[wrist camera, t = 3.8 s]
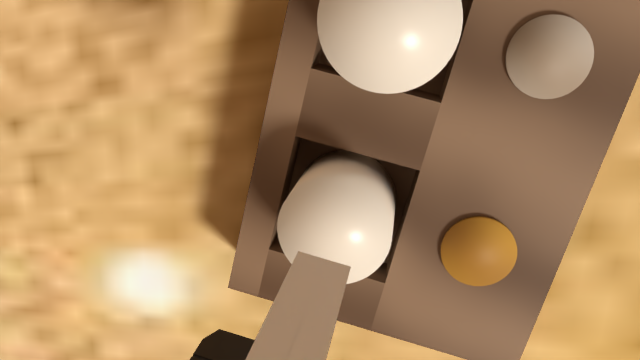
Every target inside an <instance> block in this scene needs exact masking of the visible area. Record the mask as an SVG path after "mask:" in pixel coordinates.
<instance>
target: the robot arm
mask: <svg viewBox="0 0 640 360" xmlns="http://www.w3.org/2000/svg"><path fill="white" fill-rule="evenodd" d="M350 268H351V267H350V266H347V265H344V264H340V263H337V262H333V261H330V260H327V259H323V258H320V257H317V256H313V255H310V254H306V253H303V252H300V251H298V252H297V255H296V257H295V259H294V261H293V263H292V265H291V267H290V269H289V271H288V273H287V275H286V277H285V279H284V281H283V283H282V285H281V287H280V290H279V292H278V294H277V296H276V298H275V300H274V302H273V304H272V306H271V308H270V310H269V312H268V314H267V316H266V318H265V320H264V323H263V325H262V327H261V329H260V331H259V333H258V335H257V337H256V339H255V340H252V339H249V338H246V337H243V336H240V335H236V334H233V333H230V332H227V331H223V330H220V329H219V330H217V331H216V332H214V333H212V334H211V335H209V336H207V337H206V338H204V339H203V340H202V341H201V343H200V344H199V346H198V348H197V349H196V351H195V352H194V354H193V357H191V359H190V360H326V358H327V354H328V350H329V347H330V343H331V339H332V335H333V332H334V328H335V324H336V320H337V317H338V313H339V309H340V306H341V302H342V298H343V294H344V291H345V287H346V283H347V279H348V276H349V272H350Z"/></svg>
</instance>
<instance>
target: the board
mask: <svg viewBox="0 0 640 360" xmlns="http://www.w3.org/2000/svg"><path fill="white" fill-rule="evenodd" d="M319 1H320V0H289V2H288V7H287V12H286V17H285V21H284V26H283V31H282V35H281V40H280V45H279V50H278V54H277V59H276V64H275V68H274V73H273V78H272V83H271V87H270V92H269V97H268V102H267V106H266V111H265V116H264V120H263V125H262V130H261V135H260V139H259V144H258V149H257V153H256V158H255V163H254V168H253V172H252V177H251V182H250V187H249V191H248V196H247V201H246V205H245V210H244V215H243V220H242V224H241V229H240V234H239V238H238V243H237V248H236V253H235V257H234V262H233V267H232V272H231V276H230V281H229V286H228V288H231V289H234V290H237V291H241V292H244V293H247V294H251V295H254V296H257V297H261V298H264V299H267V300H271V301H274V300H275V298H276V296H277V294H278V292H279V290H280V287H281V285H282V283H283V281H284V279H285V277H286V275H287V273H288V271H289V269H290V267H291V265H292V264H291V263H290V262H289V260H288V259H287V257H286V256H285V254H284V252H283V250H282V248H281V246H280V243H279V239H278V233H277V222H278V216H279V213H280V209H281V207H282V205H283V203H284V202H285V200H286V199H287V197H288V195H289V194H290V192H291V191H292V189H293V188H294V186H295V185H296V183H297V182H298V180H299V179H300V177H301V176H302V174H303V173H304V171H305V170H306V168H307V167H308V166H309V165H310V164H311V163H312V162H313V161H314V160H316V159H317V158H319V157H320V156H322V155H324V154H326V153H330V152H333V151H338V150H347V151H351V152H354V153H358V154H362V155H365V156H369V157H372V158H373V159H375V160H376V161H377V162H379V163H380V164H381V165H382V166H383V167H384V168H385V170H386V171H387V172H388V174H389V175H390V177H391V179H392V181H393V184H394V187H395V192H396V207H395V216H394V225H393V235H392V242H391V247H390V250H389V253H388V255H387V257H386V259H385V260H384V262H383V263H382V264H381V266H380V267H379V268H378V269H377V270H376V271H375V272H373V273H372V274H371V275H369V276H368V277H366V278H364V279H362V280H360V281H357V282H354V283H350V284H346V287H345V291H344V294H343V298H342V302H341V306H340V309H339V313H338V317H337V321H341V322H344V323H347V324H351V325H354V326H357V327H361V328H364V329H367V330H371V331H374V332H377V333H381V334H384V335H387V336H390V337H394V338H397V339H400V340H404V341H407V342H410V343H414V344H417V345H420V346H424V347H427V348H430V349H434V350H437V351H440V352H444V353H447V354H450V355H454V356H457V357H460V358H464V359H467V360H520V358H521V356H522V353H523V351H524V349H525V346H526V344H527V341H528V339H529V337H530V334H531V332H532V329H533V327H534V325H535V322H536V320H537V317H538V315H539V313H540V310H541V308H542V305H543V303H544V301H545V298H546V296H547V293H548V291H549V289H550V286H551V284H552V282H553V279H554V277H555V274H556V272H557V270H558V267H559V265H560V262H561V260H562V258H563V255H564V253H565V250H566V248H567V246H568V243H569V241H570V238H571V236H572V234H573V231H574V229H575V226H576V224H577V222H578V219H579V217H580V214H581V212H582V210H583V207H584V205H585V203H586V200H587V198H588V195H589V193H590V191H591V188H592V186H593V183H594V181H595V179H596V176H597V174H598V171H599V169H600V167H601V164H602V162H603V159H604V157H605V155H606V152H607V150H608V147H609V145H610V143H611V140H612V138H613V135H614V133H615V131H616V128H617V126H618V123H619V121H620V119H621V116H622V114H623V112H624V109H625V107H626V104H627V102H628V100H629V97H630V95H631V92H632V90H633V88H634V85H635V83H636V80H637V78H638V76H639V73H640V0H461V2H462V8H463V24H462V31H461V35H460V39H459V42H458V45H457V47H456V50H455V51H454V53H453V55H452V57H451V59H450V60H449V61H448V63H447V64H446V66H445V67H444V68H443V69H442V70H441V71H440V72H439V73H438V74H437V75H436V76H435V77H433V78H432V79H431V80H429V81H428V82H426V83H425V84H423V85H421V86H419V87H417V88H415V89H412V90H409V91H406V92H401V93H393V94H383V93H375V92H370V91H367V90H364V89H361V88H359V87H357V86H355V85H353V84H351V83H350V82H348V81H347V80H345V79H344V78H343V77H342V76H341V75H340V74H339V73H338V72H337V71H336V70H335V69H334V68H333V67H332V65H331V64H330V62H329V61H328V59H327V58H326V56H325V54H324V52H323V49H322V46H321V44H320V40H319V36H318V29H317V12H318V6H319Z"/></svg>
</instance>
